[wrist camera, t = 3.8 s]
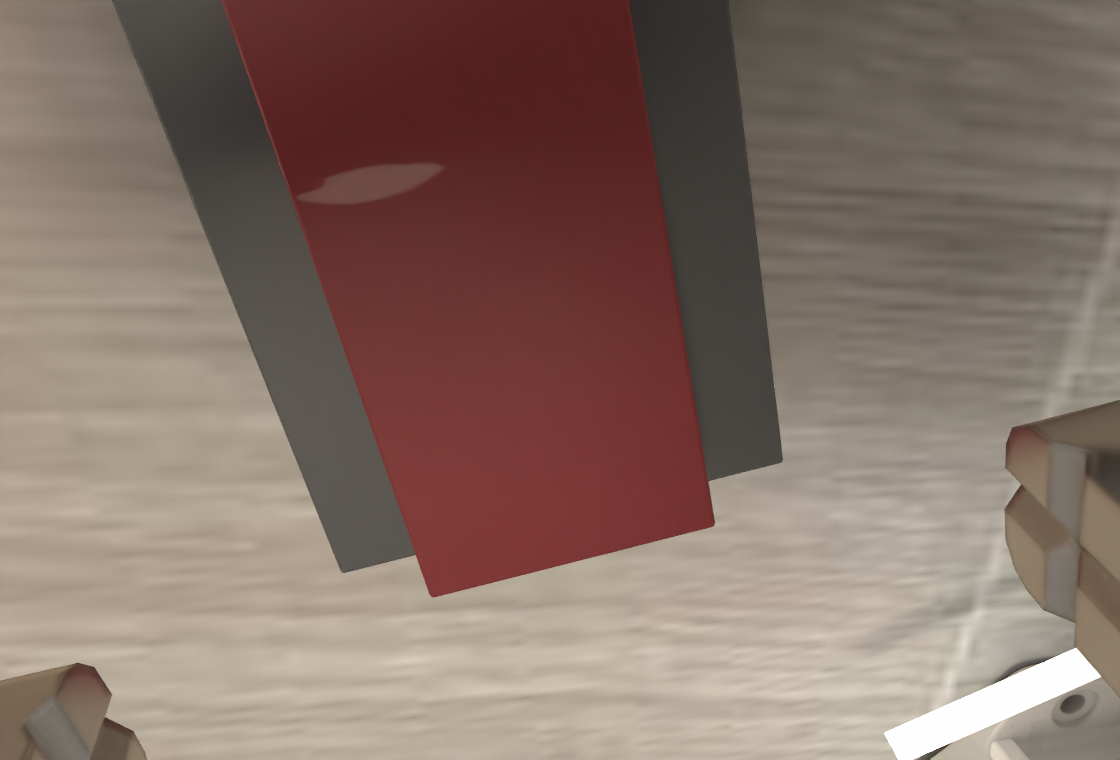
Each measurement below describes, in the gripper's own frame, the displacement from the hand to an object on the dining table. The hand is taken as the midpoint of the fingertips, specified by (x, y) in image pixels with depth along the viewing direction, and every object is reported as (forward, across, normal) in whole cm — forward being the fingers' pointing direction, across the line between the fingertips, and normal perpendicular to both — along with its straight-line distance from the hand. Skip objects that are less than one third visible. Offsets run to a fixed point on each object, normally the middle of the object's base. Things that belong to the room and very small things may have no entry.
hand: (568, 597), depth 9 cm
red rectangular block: (+12, 0, 0) cm, 12 cm away
